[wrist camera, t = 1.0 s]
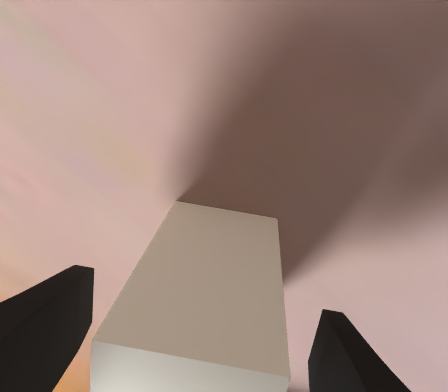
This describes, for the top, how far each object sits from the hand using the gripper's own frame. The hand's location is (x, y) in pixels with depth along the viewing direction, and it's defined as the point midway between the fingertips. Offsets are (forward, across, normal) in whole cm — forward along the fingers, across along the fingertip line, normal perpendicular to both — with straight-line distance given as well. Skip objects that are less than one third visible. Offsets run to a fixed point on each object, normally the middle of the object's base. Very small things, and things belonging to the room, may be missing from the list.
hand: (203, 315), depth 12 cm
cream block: (+4, 0, 0) cm, 4 cm away
